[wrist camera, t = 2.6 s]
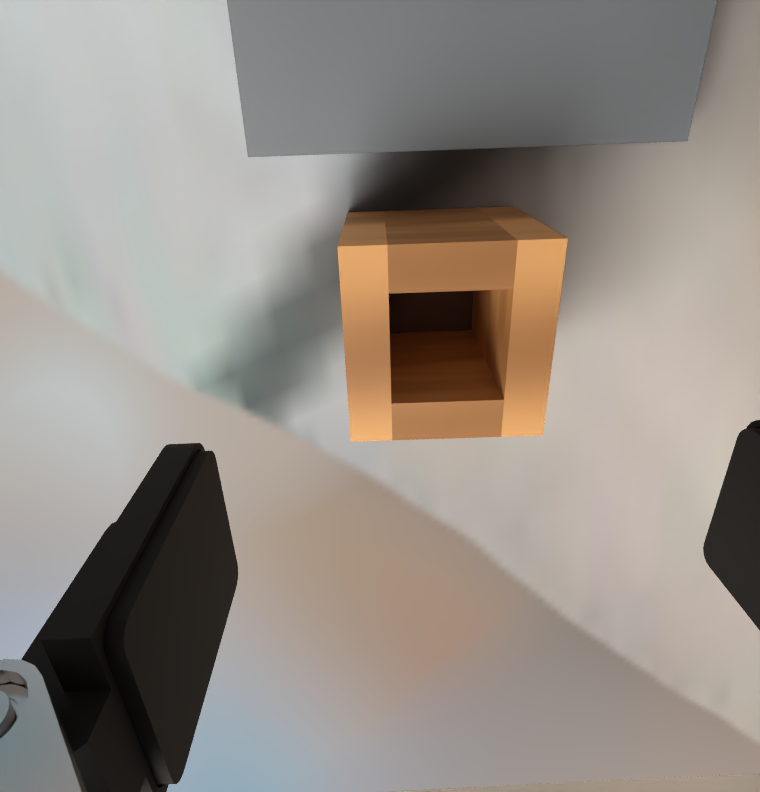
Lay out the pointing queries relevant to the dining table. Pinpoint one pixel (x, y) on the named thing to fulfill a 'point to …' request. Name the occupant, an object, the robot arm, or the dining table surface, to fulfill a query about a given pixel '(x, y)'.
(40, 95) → the dining table surface
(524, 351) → the cube
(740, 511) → the robot arm
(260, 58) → the rod stand
